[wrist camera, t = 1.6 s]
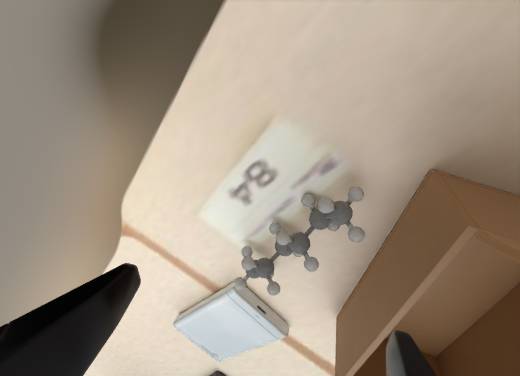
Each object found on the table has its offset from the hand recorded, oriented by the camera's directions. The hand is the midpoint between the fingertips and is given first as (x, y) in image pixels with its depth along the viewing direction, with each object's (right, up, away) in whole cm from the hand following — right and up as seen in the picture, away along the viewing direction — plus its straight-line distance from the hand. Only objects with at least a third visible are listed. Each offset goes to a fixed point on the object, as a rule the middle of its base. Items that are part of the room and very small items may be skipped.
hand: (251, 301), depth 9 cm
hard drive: (-3, -12, +23) cm, 26 cm away
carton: (+15, -4, +13) cm, 20 cm away
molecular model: (+3, +1, +14) cm, 14 cm away
